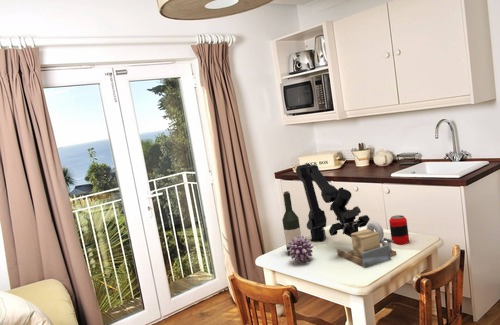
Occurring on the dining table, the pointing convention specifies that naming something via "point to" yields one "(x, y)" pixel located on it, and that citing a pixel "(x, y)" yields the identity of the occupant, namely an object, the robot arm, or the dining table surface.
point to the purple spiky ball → (300, 248)
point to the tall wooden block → (364, 241)
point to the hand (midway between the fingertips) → (359, 241)
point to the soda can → (399, 230)
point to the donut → (376, 229)
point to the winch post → (388, 242)
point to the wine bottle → (290, 222)
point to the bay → (368, 256)
